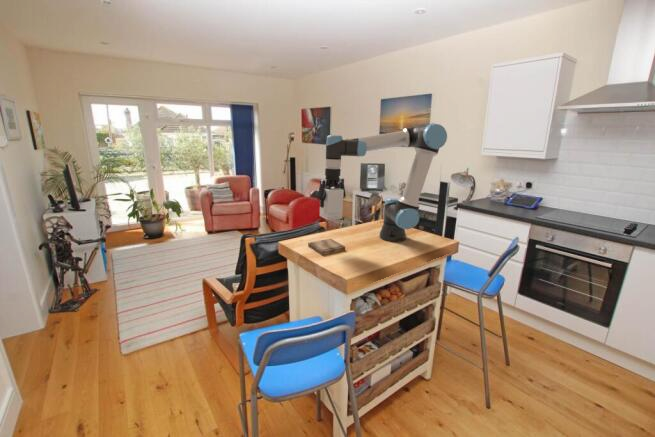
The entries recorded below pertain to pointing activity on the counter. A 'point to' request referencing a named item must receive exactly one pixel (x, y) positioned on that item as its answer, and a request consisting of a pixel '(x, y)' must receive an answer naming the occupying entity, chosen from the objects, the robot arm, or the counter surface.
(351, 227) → the counter surface
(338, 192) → the supplement box
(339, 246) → the walnut stand
